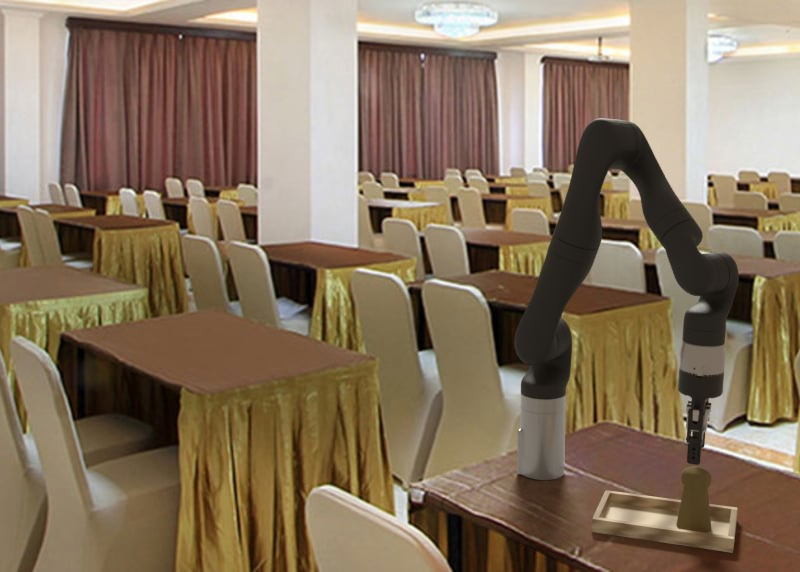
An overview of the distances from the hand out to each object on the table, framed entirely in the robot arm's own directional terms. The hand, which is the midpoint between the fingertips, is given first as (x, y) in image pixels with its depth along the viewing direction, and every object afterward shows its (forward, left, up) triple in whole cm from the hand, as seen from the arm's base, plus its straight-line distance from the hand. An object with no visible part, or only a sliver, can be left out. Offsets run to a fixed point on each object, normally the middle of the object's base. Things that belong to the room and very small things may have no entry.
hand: (695, 455), depth 169 cm
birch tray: (-5, 0, -14) cm, 15 cm away
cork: (0, 0, -14) cm, 14 cm away
